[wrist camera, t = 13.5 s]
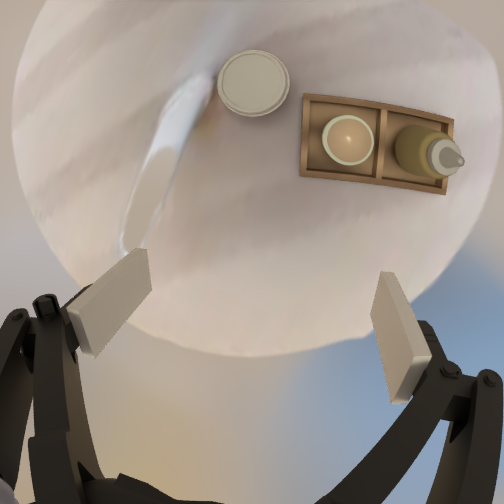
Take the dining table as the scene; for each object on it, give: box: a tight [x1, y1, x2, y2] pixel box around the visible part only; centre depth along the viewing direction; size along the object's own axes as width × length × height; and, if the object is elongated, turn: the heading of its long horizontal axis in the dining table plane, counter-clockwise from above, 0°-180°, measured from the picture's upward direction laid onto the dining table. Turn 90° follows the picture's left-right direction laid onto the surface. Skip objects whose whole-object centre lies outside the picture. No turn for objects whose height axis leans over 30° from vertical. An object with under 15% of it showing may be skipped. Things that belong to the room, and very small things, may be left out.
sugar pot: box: [321, 115, 374, 165], centre depth 41 cm, size 7×7×9 cm
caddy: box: [300, 94, 454, 195], centre depth 43 cm, size 13×25×4 cm, turn 89°
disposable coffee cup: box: [218, 50, 290, 117], centre depth 39 cm, size 10×10×12 cm
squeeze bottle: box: [395, 125, 464, 179], centre depth 35 cm, size 8×8×18 cm
